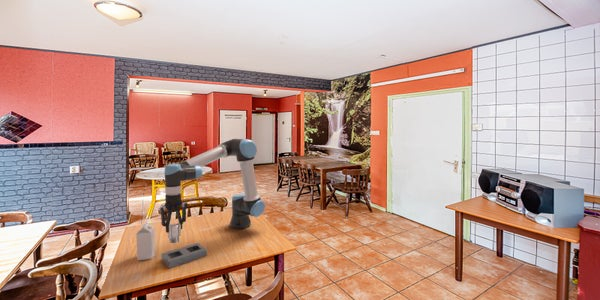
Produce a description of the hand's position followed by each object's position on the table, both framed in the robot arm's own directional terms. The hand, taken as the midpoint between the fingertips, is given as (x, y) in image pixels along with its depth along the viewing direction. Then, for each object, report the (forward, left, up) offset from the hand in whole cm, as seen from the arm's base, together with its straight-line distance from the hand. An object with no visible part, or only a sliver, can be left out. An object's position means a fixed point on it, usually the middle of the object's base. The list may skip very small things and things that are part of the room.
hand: (174, 236), depth 141 cm
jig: (-5, 0, -13) cm, 14 cm away
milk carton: (+10, -15, -14) cm, 23 cm away
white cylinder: (0, 0, -3) cm, 3 cm away
